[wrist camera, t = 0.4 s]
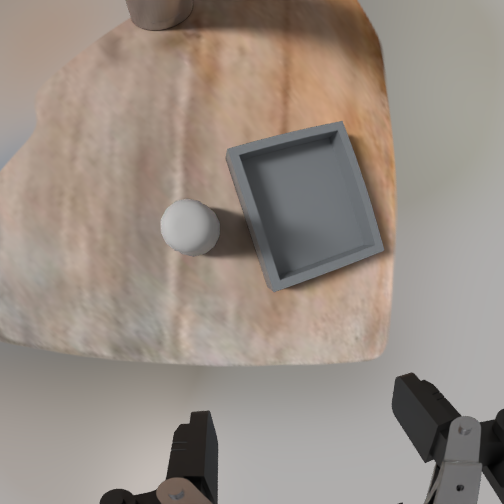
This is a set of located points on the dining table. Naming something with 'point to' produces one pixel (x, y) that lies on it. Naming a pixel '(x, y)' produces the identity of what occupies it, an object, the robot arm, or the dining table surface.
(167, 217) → the salt shaker
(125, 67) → the dining table surface
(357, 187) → the tray
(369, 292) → the dining table surface
